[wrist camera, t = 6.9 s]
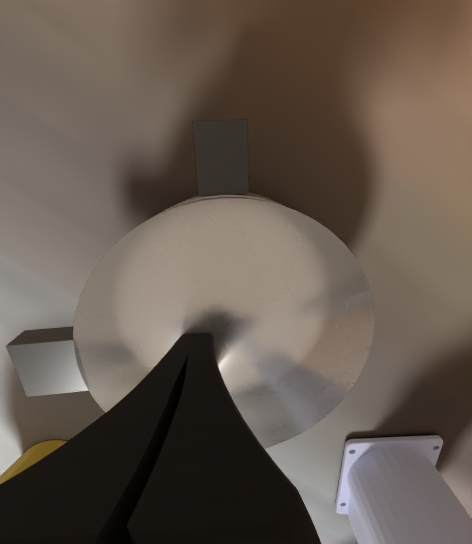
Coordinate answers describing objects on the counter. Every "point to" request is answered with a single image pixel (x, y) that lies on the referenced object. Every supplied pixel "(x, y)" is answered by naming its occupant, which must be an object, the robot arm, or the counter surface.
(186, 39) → the counter surface
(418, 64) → the counter surface
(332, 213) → the counter surface
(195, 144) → the cooker pot
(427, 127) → the counter surface
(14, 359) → the cooker lid
